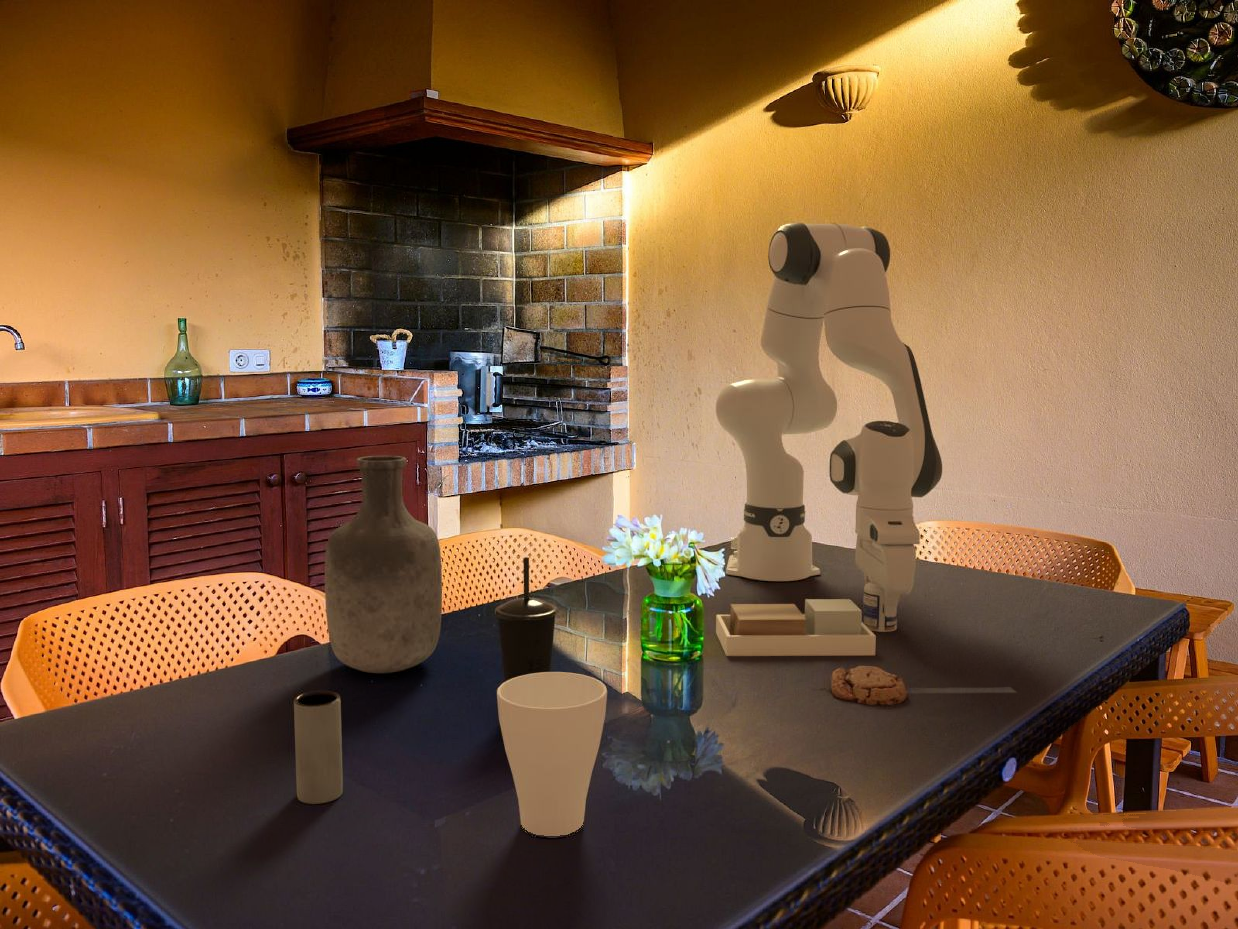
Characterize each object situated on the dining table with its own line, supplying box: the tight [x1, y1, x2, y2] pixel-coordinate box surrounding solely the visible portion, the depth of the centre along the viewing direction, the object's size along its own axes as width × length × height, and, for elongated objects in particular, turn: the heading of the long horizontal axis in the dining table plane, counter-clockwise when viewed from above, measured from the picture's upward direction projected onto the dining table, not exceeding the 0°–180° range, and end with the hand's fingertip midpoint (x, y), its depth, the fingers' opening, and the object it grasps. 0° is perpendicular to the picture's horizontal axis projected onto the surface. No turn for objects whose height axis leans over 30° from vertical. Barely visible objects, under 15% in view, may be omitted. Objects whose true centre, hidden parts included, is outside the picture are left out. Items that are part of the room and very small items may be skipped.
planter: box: [293, 690, 344, 805], centre depth 105 cm, size 4×4×10 cm
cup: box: [496, 671, 608, 836], centre depth 99 cm, size 10×10×14 cm
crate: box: [715, 613, 877, 657], centre depth 157 cm, size 12×22×4 cm, turn 92°
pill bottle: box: [862, 571, 899, 633], centre depth 166 cm, size 5×5×10 cm
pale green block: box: [804, 598, 863, 635], centre depth 157 cm, size 7×7×6 cm
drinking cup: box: [494, 556, 559, 683], centre depth 127 cm, size 8×8×20 cm
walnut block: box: [729, 603, 807, 635], centre depth 157 cm, size 9×10×5 cm
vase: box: [324, 455, 443, 674], centre depth 144 cm, size 16×16×30 cm
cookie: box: [830, 665, 908, 706], centre depth 138 cm, size 10×11×3 cm
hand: (880, 608), depth 166 cm, fingers open, 8 cm apart
